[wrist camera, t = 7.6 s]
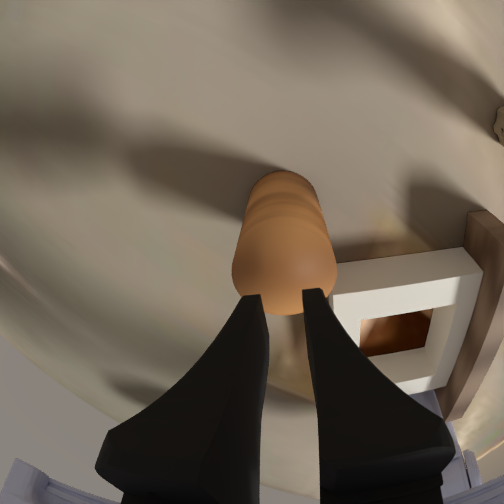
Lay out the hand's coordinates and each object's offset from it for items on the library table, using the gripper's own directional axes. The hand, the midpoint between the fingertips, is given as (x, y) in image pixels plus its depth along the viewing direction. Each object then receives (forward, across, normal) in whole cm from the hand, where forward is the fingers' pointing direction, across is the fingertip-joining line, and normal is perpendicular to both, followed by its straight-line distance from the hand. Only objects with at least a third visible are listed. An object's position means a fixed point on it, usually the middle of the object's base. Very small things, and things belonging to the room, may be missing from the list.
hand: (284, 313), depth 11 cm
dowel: (+10, 0, 0) cm, 10 cm away
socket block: (+10, -8, +11) cm, 17 cm away
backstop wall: (+10, -14, +12) cm, 21 cm away
